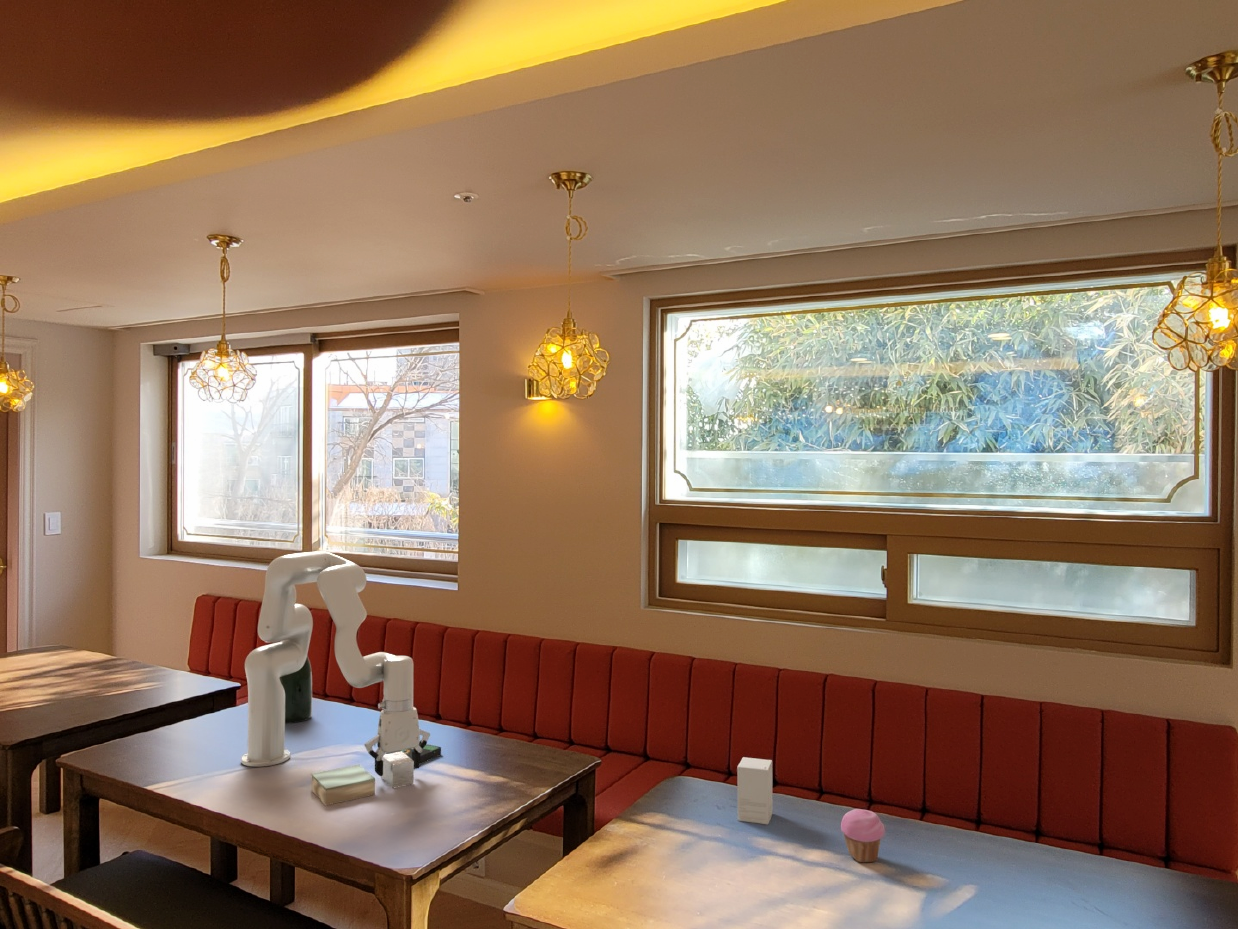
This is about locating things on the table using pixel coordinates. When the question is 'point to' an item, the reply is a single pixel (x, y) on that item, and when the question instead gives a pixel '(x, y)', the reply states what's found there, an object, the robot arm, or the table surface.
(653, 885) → the table surface
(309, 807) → the table surface
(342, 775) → the stand
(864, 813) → the cupcake
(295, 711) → the beer bottle
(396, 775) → the block
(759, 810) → the supplement box
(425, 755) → the disk drive
